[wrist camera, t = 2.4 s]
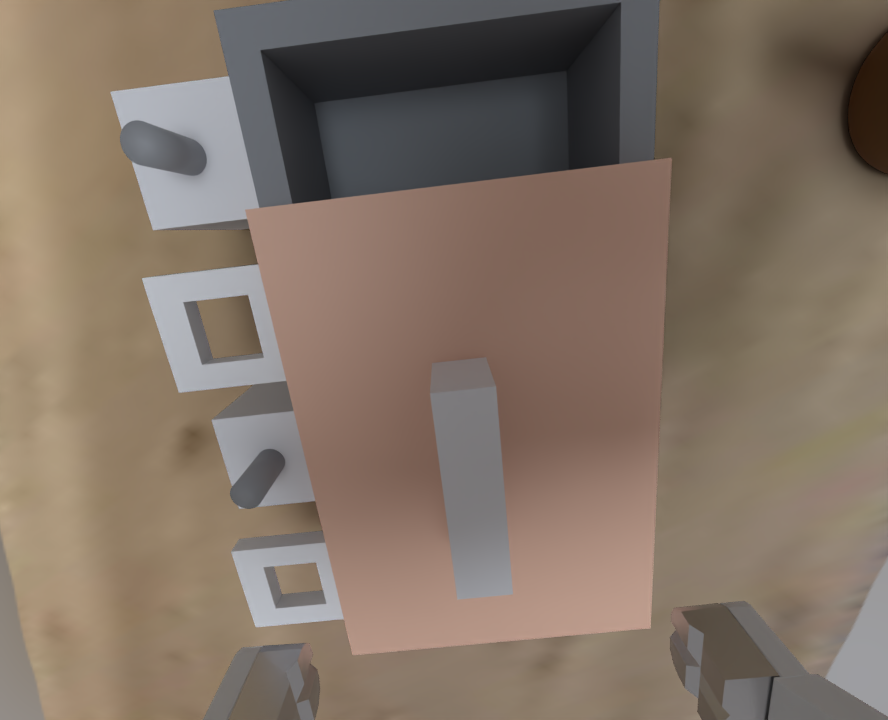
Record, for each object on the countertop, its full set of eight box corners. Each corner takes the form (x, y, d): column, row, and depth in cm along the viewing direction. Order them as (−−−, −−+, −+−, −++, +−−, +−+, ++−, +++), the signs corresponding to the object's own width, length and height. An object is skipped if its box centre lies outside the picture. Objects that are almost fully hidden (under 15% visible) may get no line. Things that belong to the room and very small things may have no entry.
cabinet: (207, 94, 20) (17, -15, 11) (585, 45, 19) (708, -111, 11) (298, 461, 26) (223, 583, 17) (589, 430, 25) (670, 540, 16)
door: (140, 225, 15) (31, 224, 11) (653, 163, 15) (734, 138, 11) (271, 639, 21) (231, 736, 17) (638, 605, 21) (686, 697, 17)
